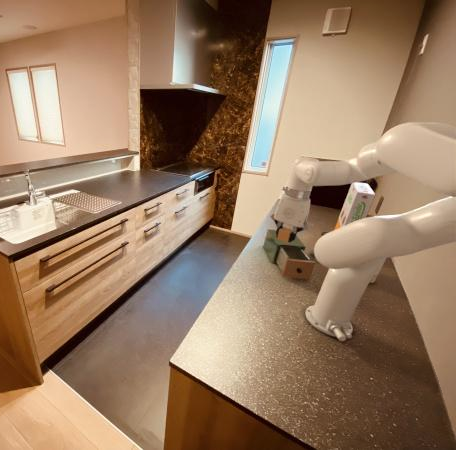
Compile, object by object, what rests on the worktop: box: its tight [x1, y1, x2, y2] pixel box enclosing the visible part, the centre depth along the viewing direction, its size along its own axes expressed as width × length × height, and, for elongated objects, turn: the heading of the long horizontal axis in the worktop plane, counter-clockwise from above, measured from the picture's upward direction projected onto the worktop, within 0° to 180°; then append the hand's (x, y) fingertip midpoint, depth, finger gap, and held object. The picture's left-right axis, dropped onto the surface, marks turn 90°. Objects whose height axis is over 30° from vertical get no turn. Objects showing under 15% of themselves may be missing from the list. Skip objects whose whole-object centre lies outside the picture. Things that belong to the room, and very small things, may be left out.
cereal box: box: [333, 182, 376, 231], centre depth 122 cm, size 22×6×30 cm, turn 148°
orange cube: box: [277, 226, 293, 243], centre depth 94 cm, size 4×4×4 cm
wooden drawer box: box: [275, 246, 316, 280], centre depth 102 cm, size 15×10×8 cm
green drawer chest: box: [262, 229, 307, 264], centre depth 113 cm, size 15×12×10 cm
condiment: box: [307, 231, 330, 262], centre depth 112 cm, size 7×8×12 cm
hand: (284, 238), depth 95 cm, fingers closed on orange cube, 4 cm apart
